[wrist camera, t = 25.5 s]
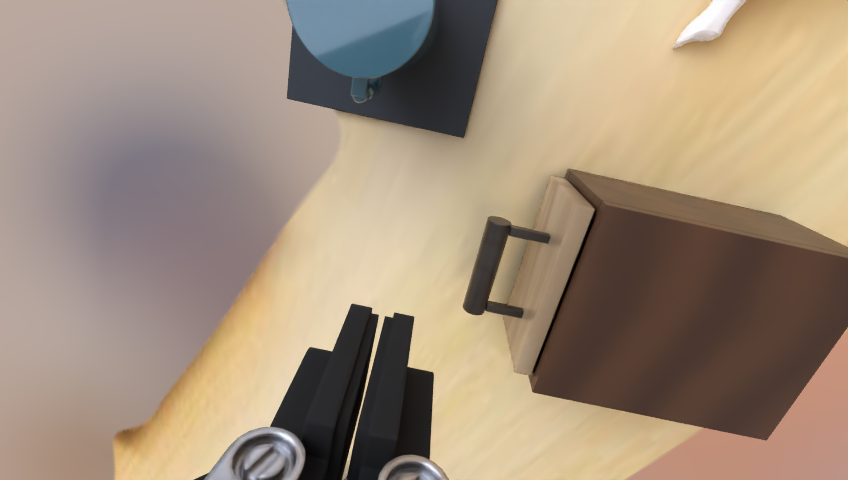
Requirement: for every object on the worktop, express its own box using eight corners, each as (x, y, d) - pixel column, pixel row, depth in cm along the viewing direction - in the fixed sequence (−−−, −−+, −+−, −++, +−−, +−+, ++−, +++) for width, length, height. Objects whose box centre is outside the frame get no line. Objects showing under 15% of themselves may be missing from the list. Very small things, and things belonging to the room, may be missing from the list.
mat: (307, -121, 26) (304, -125, 26) (514, -72, 27) (515, -75, 26) (289, 98, 31) (286, 98, 31) (463, 136, 32) (463, 138, 31)
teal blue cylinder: (351, -48, 27) (291, -111, 17) (450, -25, 27) (450, -74, 17) (335, 82, 30) (277, 94, 20) (424, 102, 30) (412, 124, 20)
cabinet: (514, 320, 38) (532, 392, 30) (567, 168, 32) (607, 205, 24) (699, 359, 38) (766, 440, 30) (781, 215, 33) (891, 267, 25)
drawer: (453, 307, 36) (454, 360, 30) (493, 162, 31) (504, 189, 25) (680, 355, 37) (728, 416, 31) (754, 220, 32) (829, 260, 26)
